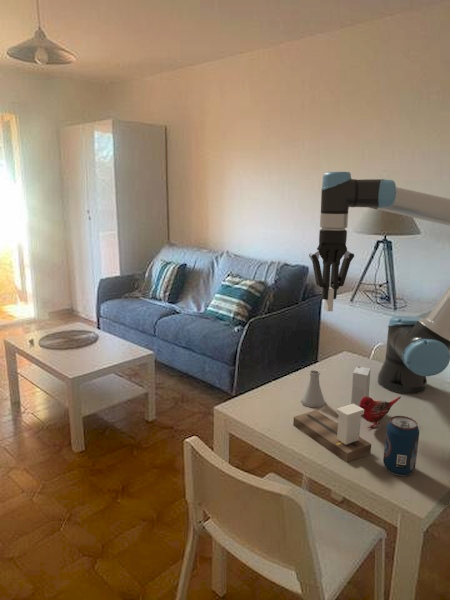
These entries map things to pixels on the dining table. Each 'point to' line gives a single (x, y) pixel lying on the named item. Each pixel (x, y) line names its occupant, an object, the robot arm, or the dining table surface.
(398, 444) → the soda can
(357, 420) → the fader knob
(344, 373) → the dining table surface
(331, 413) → the dining table surface
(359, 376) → the skincare box
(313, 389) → the flask
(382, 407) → the decorative bird figurine
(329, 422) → the fader board
